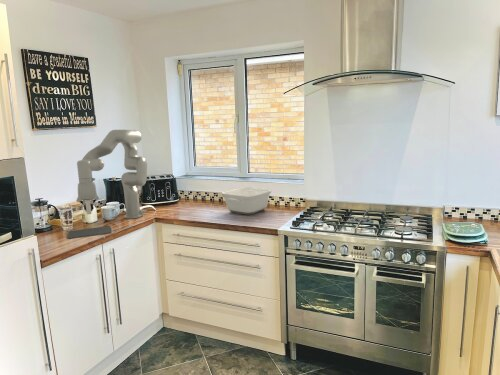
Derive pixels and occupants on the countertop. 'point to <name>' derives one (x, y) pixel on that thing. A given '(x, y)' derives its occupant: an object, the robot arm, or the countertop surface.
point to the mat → (89, 232)
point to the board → (88, 206)
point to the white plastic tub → (246, 200)
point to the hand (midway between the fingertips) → (89, 210)
